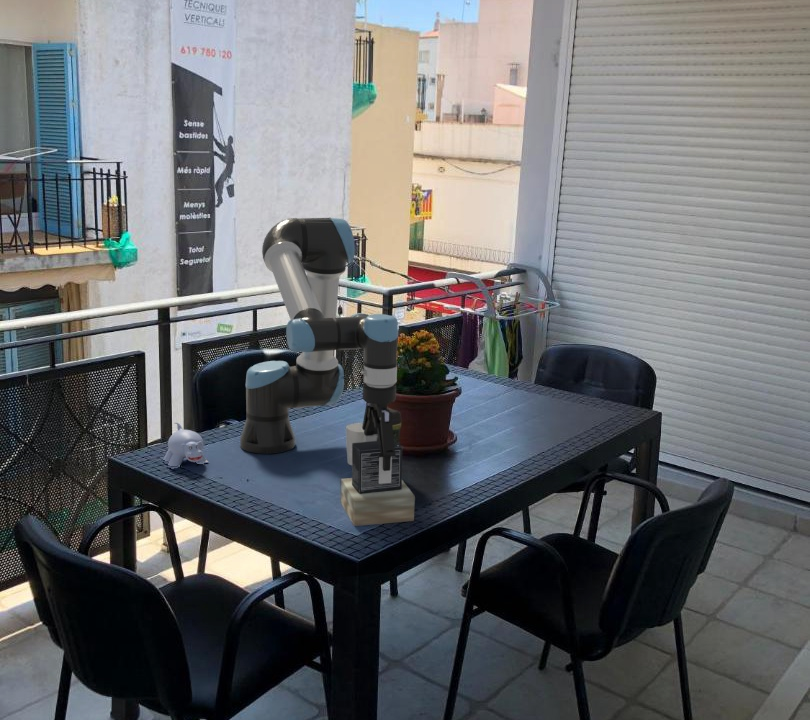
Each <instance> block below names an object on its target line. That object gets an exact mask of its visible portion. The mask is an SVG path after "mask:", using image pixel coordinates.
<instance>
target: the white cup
mask: <svg viewBox="0 0 810 720" xmlns="http://www.w3.org/2000/svg"><path fill="white" fill-rule="evenodd" d="M362 426H363V422H355V423H350V424H347V425H346V426H345V442H346V454H347V458H346V459H347V460H346V461H347V464H348V465H350V466H351V467H352V443H359V442H365V434H364V430H363V429H362Z"/></svg>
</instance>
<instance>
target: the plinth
mask: <svg viewBox="0 0 810 720" xmlns="http://www.w3.org/2000/svg"><path fill="white" fill-rule="evenodd" d="M340 482H341V483H340V504H341V505H342V508H343V509H344V511H345V512H346V514H347V516H348V517H349V520H350V521H351V523H352V526H354V527H358V526H359V527H361V526H368V525H380V524H381V525H383V524H392V523H393V524H395V523H402V522H403V523H404V522H414V521H415V504H416V503H415V501H416V497H415V494H414V493H413V492H412V491H411V489H410V488H409V487H408V486H407V484H406V483H405V481H404V480H403V479H402V489H399V490H390V491H380V492H371V493H362V494H359V493H358V492H357V491H356V489H355V488H354V487H353V485H352V477H350V478H349V477H347V478H341V479H340Z"/></svg>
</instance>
